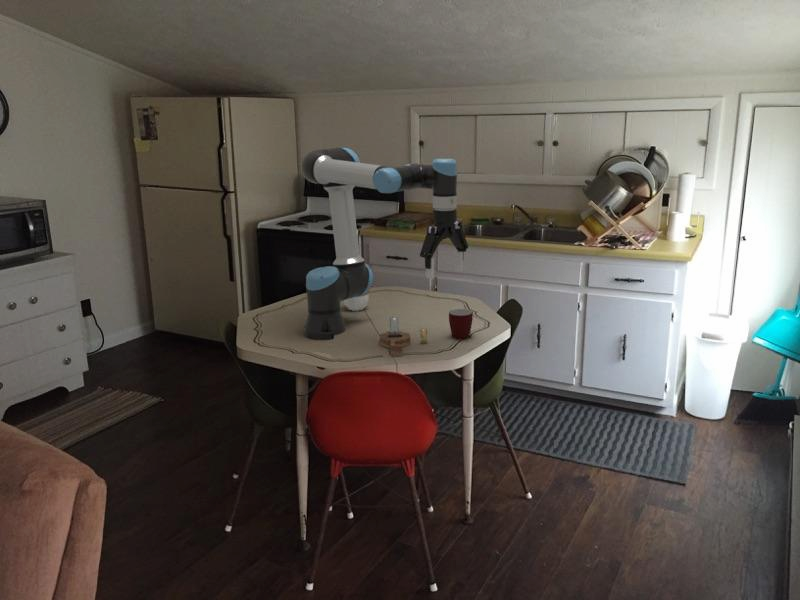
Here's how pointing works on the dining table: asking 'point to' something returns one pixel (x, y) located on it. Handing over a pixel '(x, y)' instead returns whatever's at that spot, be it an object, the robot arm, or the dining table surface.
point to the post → (394, 327)
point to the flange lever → (395, 342)
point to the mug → (460, 323)
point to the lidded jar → (357, 302)
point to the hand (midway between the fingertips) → (444, 274)
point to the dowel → (423, 335)
